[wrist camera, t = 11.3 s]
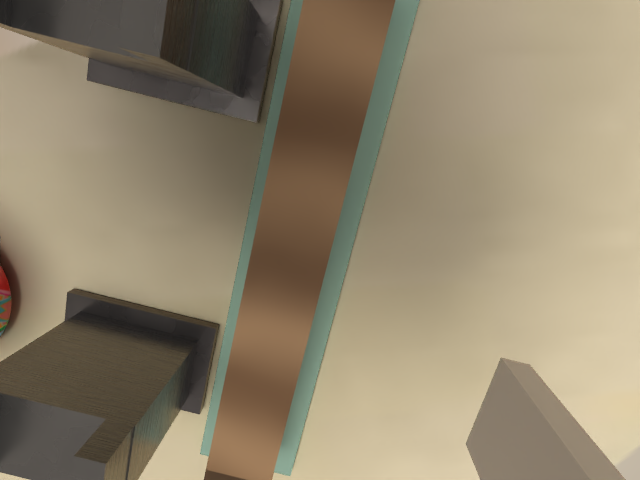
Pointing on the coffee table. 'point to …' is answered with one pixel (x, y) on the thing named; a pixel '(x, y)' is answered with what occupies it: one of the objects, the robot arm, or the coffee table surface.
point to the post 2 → (101, 389)
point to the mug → (4, 301)
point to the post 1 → (163, 46)
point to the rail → (296, 227)
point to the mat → (345, 229)
